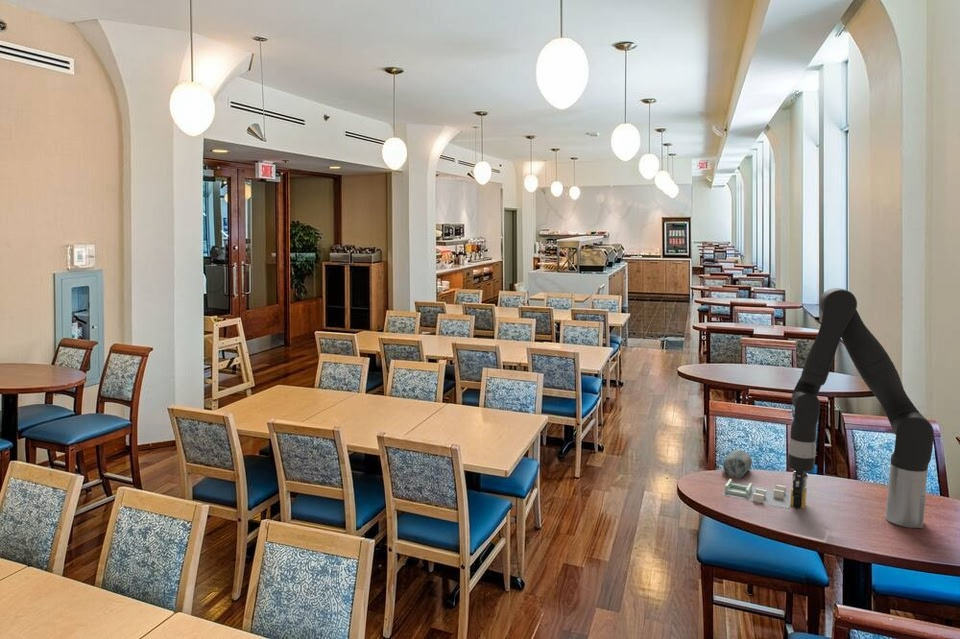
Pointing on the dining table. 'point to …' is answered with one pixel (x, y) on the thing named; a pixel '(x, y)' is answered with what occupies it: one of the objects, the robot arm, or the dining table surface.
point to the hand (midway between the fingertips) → (798, 505)
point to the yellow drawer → (802, 498)
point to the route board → (768, 500)
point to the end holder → (747, 488)
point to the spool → (737, 463)
